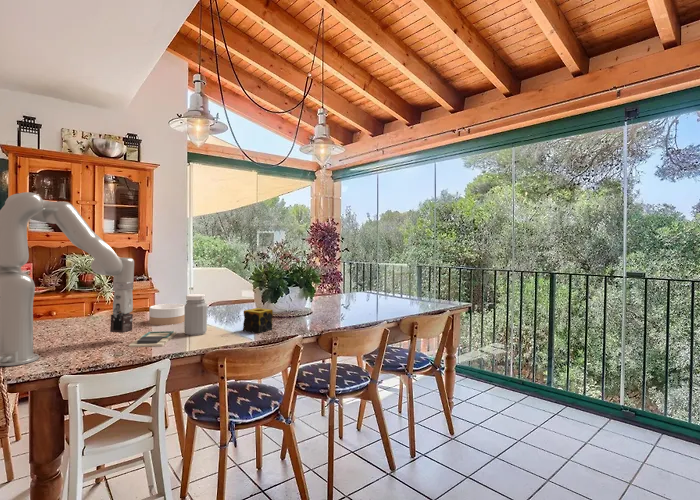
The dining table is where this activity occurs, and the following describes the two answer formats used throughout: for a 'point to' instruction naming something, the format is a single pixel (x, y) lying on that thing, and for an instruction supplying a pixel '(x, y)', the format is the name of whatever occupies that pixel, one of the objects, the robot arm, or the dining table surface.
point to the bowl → (166, 314)
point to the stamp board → (153, 339)
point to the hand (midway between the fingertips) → (121, 327)
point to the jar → (195, 315)
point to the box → (123, 323)
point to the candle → (257, 320)
